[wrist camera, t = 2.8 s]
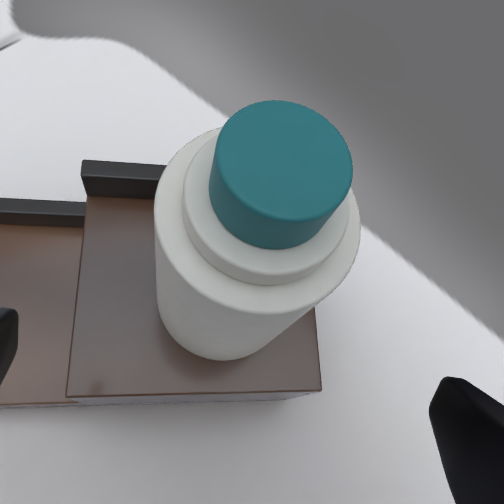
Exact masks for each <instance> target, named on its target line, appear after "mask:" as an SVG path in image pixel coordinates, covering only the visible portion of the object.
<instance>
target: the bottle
mask: <svg viewBox="0 0 504 504" xmlns="http://www.w3.org/2000/svg"><path fill="white" fill-rule="evenodd" d="M352 173H353V166H352V159H351V154H350V151H349V149H348V146H347V144H346V142H345V140H344V138H343V137H342V135H341V134H340V133H339V131H338V130H337V129H336V128H335V127H334V126H333V125H332V124H331V123H330V122H329V121H328V120H327V119H325V118H324V117H323V116H322V115H320V114H319V113H317V112H315V111H314V110H312V109H309V108H307V107H305V106H302V105H299V104H296V103H292V102H287V101H275V100H272V101H263V102H258V103H254V104H251V105H249V106H247V107H245V108H243V109H241V110H239V111H238V112H237V113H235V114H234V115H233V116H232V117H231V118H230V119H229V120H228V121H227V122H226V123H225V124H224V126H223V127H220V128H217V129H214V130H211V131H208V132H206V133H204V134H202V135H200V136H198V137H196V138H195V139H193V140H192V141H190V142H189V143H187V144H186V145H185V146H184V147H183V148H182V149H181V150H180V151H178V152H177V153H176V155H175V156H174V157H173V158H172V159H171V161H170V162H169V163H168V165H167V167H166V168H165V170H164V171H163V173H162V176H161V178H160V180H159V183H158V186H157V190H156V194H155V201H154V228H155V256H156V284H157V304H158V310H159V313H160V316H161V319H162V322H163V324H164V326H165V328H166V329H167V331H168V332H169V334H170V335H171V336H172V337H173V338H174V339H175V341H176V342H177V343H179V344H180V345H181V346H182V347H183V348H185V349H186V350H188V351H190V352H191V353H193V354H195V355H198V356H200V357H203V358H206V359H211V360H219V361H228V360H236V359H240V358H244V357H246V356H249V355H251V354H253V353H255V352H257V351H259V350H260V349H261V348H263V347H264V346H265V345H267V344H268V343H269V342H270V341H272V340H273V339H274V338H275V337H277V336H278V335H279V334H280V333H282V332H283V331H284V330H285V329H287V328H288V327H289V326H290V325H292V324H293V323H294V322H295V321H297V320H298V319H299V318H300V317H302V316H303V315H304V314H305V313H307V312H308V311H309V310H310V309H312V308H313V307H314V306H315V305H317V304H318V303H319V302H320V301H322V300H323V299H324V298H325V297H327V296H328V295H329V294H330V293H332V292H333V291H334V290H335V289H336V288H337V287H338V286H339V285H340V284H341V282H342V281H343V280H344V278H345V277H346V276H347V274H348V273H349V271H350V269H351V267H352V265H353V263H354V260H355V258H356V255H357V252H358V247H359V242H360V230H361V225H360V214H359V210H358V205H357V201H356V199H355V196H354V193H353V191H352V189H351V187H350V186H351V182H352V175H353V174H352Z"/></svg>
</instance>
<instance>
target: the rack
mask: <svg viewBox="0 0 504 504" xmlns="http://www.w3.org/2000/svg"><path fill="white" fill-rule="evenodd" d="M166 167H167V165H154V164H139V163H125V162H110V161H96V160H83V161H82V166H81V178H82V181H83V185H84V188H85V191H86V194H87V200H86V202H71V201H51V200H32V199H12V198H0V307H5V308H11V309H15V310H16V311H17V312H18V316H19V322H18V348H17V352H16V355H15V358H14V360H13V362H12V364H11V366H10V368H9V370H8V372H7V374H6V376H5V378H4V380H3V382H2V384H1V386H0V408H19V407H53V406H86V405H121V404H155V403H189V402H223V401H257V400H286V399H291V398H295V397H299V396H303V395H308V394H312V393H316V392H320V391H322V385H321V374H320V362H319V351H318V340H317V329H316V318H315V307H313V308H312V309H310V310H309V311H308V312H307V313H305V314H304V315H303V316H302V317H300V318H299V319H298V320H297V321H295V322H294V323H293V324H292V325H290V326H289V327H288V328H287V329H285V330H284V331H283V332H282V333H280V334H279V335H278V336H277V337H275V338H274V339H273V340H272V341H270V342H269V343H268V344H267V345H265V346H264V347H263V348H261V349H260V350H259V351H257V352H255V353H253V354H251V355H249V356H246V357H244V358H240V359H236V360H228V361H219V360H211V359H206V358H203V357H200V356H198V355H195V354H193V353H191V352H190V351H188V350H186V349H185V348H183V347H182V346H181V345H180V344H179V343H177V342H176V341H175V339H174V338H173V337H172V336H171V335H170V334H169V332H168V331H167V329H166V328H165V326H164V324H163V322H162V319H161V316H160V313H159V310H158V304H157V284H156V256H155V228H154V201H155V194H156V190H157V186H158V183H159V180H160V178H161V176H162V173H163V171H164V170H165V168H166Z"/></svg>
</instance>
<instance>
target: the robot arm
mask: <svg viewBox="0 0 504 504" xmlns="http://www.w3.org/2000/svg"><path fill="white" fill-rule="evenodd" d="M18 322H19V316H18V312H17V311H16V310H15V309H11V308H5V307H0V386H1V384H2V382H3V380H4V378H5V376H6V374H7V372H8V370H9V368H10V366H11V364H12V362H13V360H14V358H15V355H16V352H17V348H18ZM429 417H430V421H431V425H432V428H433V432H434V435H435V439H436V443H437V446H438V450H439V453H440V457H441V461H442V464H443V468H444V471H445V475H446V478H447V481H448V484H449V487H450V490H451V493H452V495H453V498H454V500H455V503H456V504H504V405H502V404H501V403H499V402H498V401H496V400H495V399H493V398H492V397H490V396H489V395H487V394H486V393H484V392H483V391H481V390H480V389H478V388H477V387H475V386H474V385H472V384H471V383H469V382H468V381H466V380H464V379H462V378H455V377H444V378H443V379H442V380H441V382H440V384H439V386H438V388H437V390H436V392H435V394H434V397H433V399H432V401H431V403H430V406H429Z"/></svg>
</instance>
